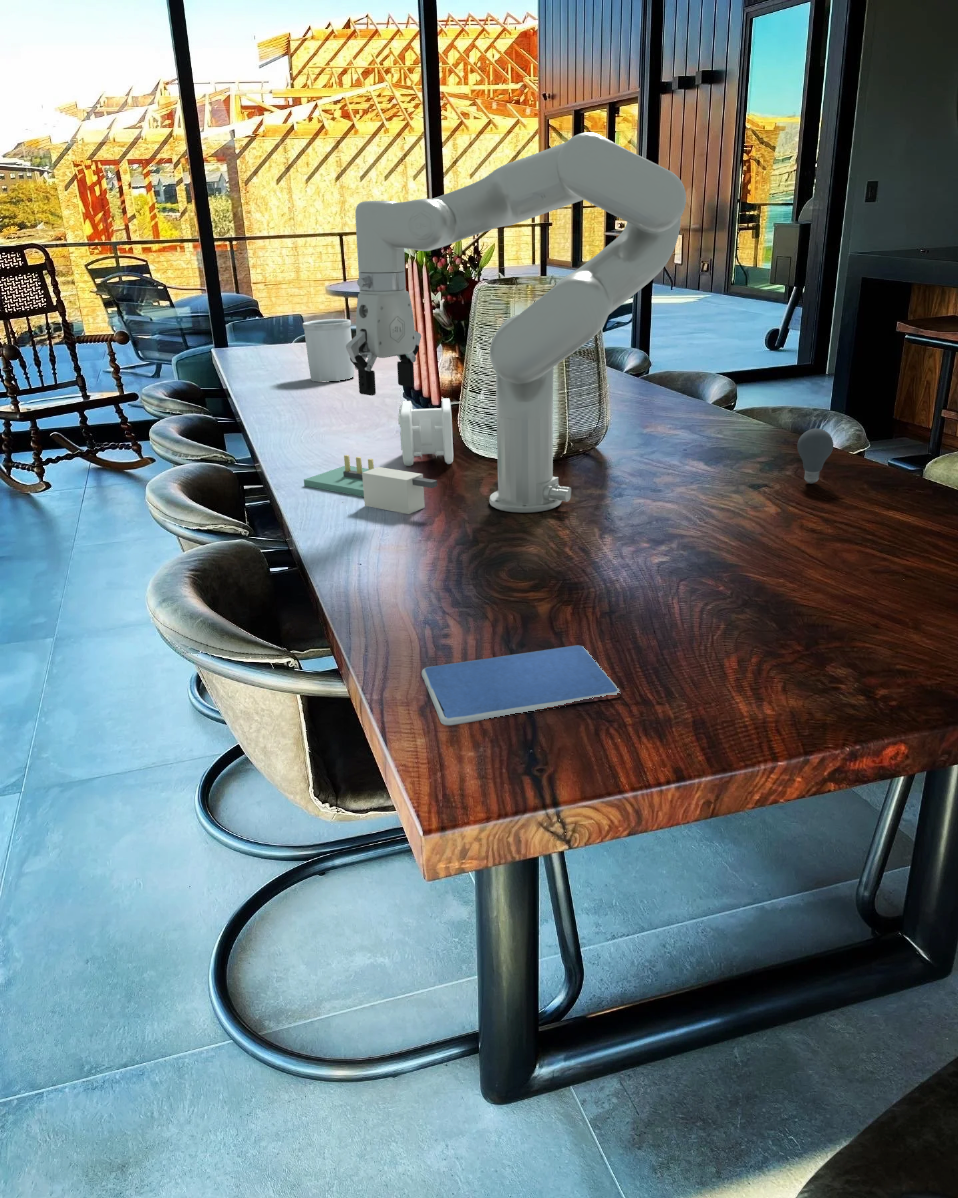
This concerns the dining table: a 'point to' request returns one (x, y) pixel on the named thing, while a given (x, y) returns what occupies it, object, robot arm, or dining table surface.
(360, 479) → the header board
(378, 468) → the plug housing
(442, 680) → the tablet computer
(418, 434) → the cable organizer
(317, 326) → the utensil holder
